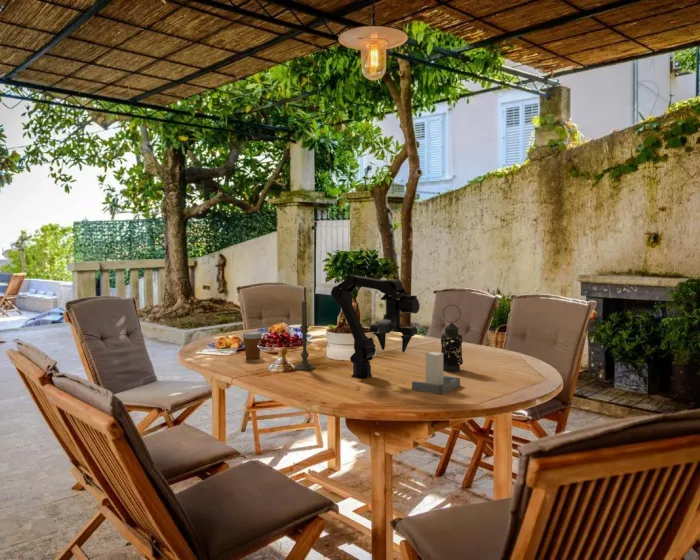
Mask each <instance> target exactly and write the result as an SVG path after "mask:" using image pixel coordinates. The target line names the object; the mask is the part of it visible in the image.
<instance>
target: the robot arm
mask: <svg viewBox="0 0 700 560" xmlns="http://www.w3.org/2000/svg"><path fill="white" fill-rule="evenodd" d="M358 287H361V288H365V289H366V288H367V289H373V290H377V291H379V292H381V293H382V294H384V295H383V296H382V297H380V300H382V301H385V314H383V319H382V320H381V321H379V322H378V323H373V324H371V325H370V326H369V332H370V333H372V334H373V335H375V337H376V338H377V340H378V343H379V344H380V349H381V350H382V351H384V350H385V348H386V339H387V338H386V336H387V335H386V334H389V333H391V332H392V333H400V334H402V335H400V337H401V339H402V340H401V341H402V343H401V352H402V353H403V354H404V353H405V352H406V349H407V347H408V345H409V343H410V341H411V339H412V337H414V336H415V335H417V334H418V328H417V327H416V326H411V325H408V326H407V325H406V326H403V324H402V323H401V318H402V317H403V313H405V314H418V312H419V311H420V307H421V306H420V301H419V299H418V297H417V295H409V294H408V292H407V291H406V290H405V289H404V286H403V283H402V281H401V280H400V279H397V278H396V279H378V278H373V277H366V276H361V275H358V274H355V275H354V274H353V275H350V276H348V277H347V278H346V279H345V280H343V281H341V282H339V283H338V285H335V286H333V287H332V289H331V291H330V296H331V297H332V299H333V300H334V303H335V304H337V305H338V307H339V308H341V311H342V313H343V315H344V318H345V321H346V323H347V326H348V328H349V331H350V332H351V336H352V337H353V341H354V342H353V349H354V353H353V354H352V355H351V356H350V357H349V360H350V362H351V363H352V368H353V369H352V370H353V372H352V374H351V375H350V377H353V378H359V379H366V378H369V377H372V376H373V374H372V365H371V361H372V360H373V357H374V356H375V354H376V351H377V350H376V347H377V345H376V343H375V342H374V339H373V337H368V336H367V335H366V334H365V331H364V329H363V327H362V324H361V322H360V319H359V317H358V314H357V311H356V310H355V308H354V305H353V294H352V293H353V292H354V291H355V289H356V288H358ZM340 288H341V289H340Z"/></svg>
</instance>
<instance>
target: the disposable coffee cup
mask: <svg viewBox="0 0 700 560" xmlns="http://www.w3.org/2000/svg"><path fill="white" fill-rule="evenodd" d="M241 337H242V338H243V346H244V353H245V358H246V359H248V360H255V359H260V355H261V348H260V349H259V348H258V347H257V345H258V343H259V341H260V340H261V341H262V338H263V333H262V331H255V330H254V331H253V330H251V331H244V332H243V333H242V335H241Z"/></svg>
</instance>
